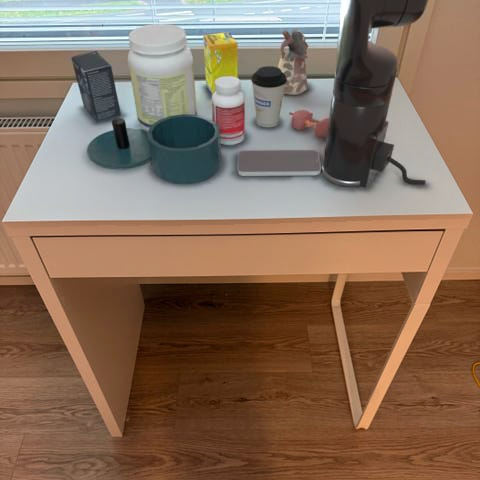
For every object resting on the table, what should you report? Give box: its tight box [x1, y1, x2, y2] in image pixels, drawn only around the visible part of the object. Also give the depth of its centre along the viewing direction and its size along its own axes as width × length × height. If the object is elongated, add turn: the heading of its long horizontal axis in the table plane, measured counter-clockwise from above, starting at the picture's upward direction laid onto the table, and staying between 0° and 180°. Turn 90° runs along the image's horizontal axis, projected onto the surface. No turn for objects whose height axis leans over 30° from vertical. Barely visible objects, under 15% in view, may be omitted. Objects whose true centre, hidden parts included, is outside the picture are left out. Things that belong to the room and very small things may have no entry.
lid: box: [86, 117, 151, 169], centre depth 92 cm, size 14×14×6 cm
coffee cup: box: [250, 65, 287, 128], centre depth 97 cm, size 7×7×10 cm
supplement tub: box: [127, 23, 198, 131], centre depth 95 cm, size 12×12×17 cm
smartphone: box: [237, 149, 322, 177], centre depth 90 cm, size 7×1×15 cm
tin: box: [147, 114, 222, 185], centre depth 89 cm, size 13×13×6 cm
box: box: [70, 50, 122, 123], centre depth 101 cm, size 8×6×11 cm
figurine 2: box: [288, 109, 329, 139], centre depth 98 cm, size 12×3×7 cm
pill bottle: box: [211, 76, 246, 146], centre depth 93 cm, size 6×6×11 cm
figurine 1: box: [277, 28, 309, 96], centre depth 107 cm, size 7×7×12 cm
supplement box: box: [202, 31, 239, 96], centre depth 107 cm, size 6×6×11 cm
